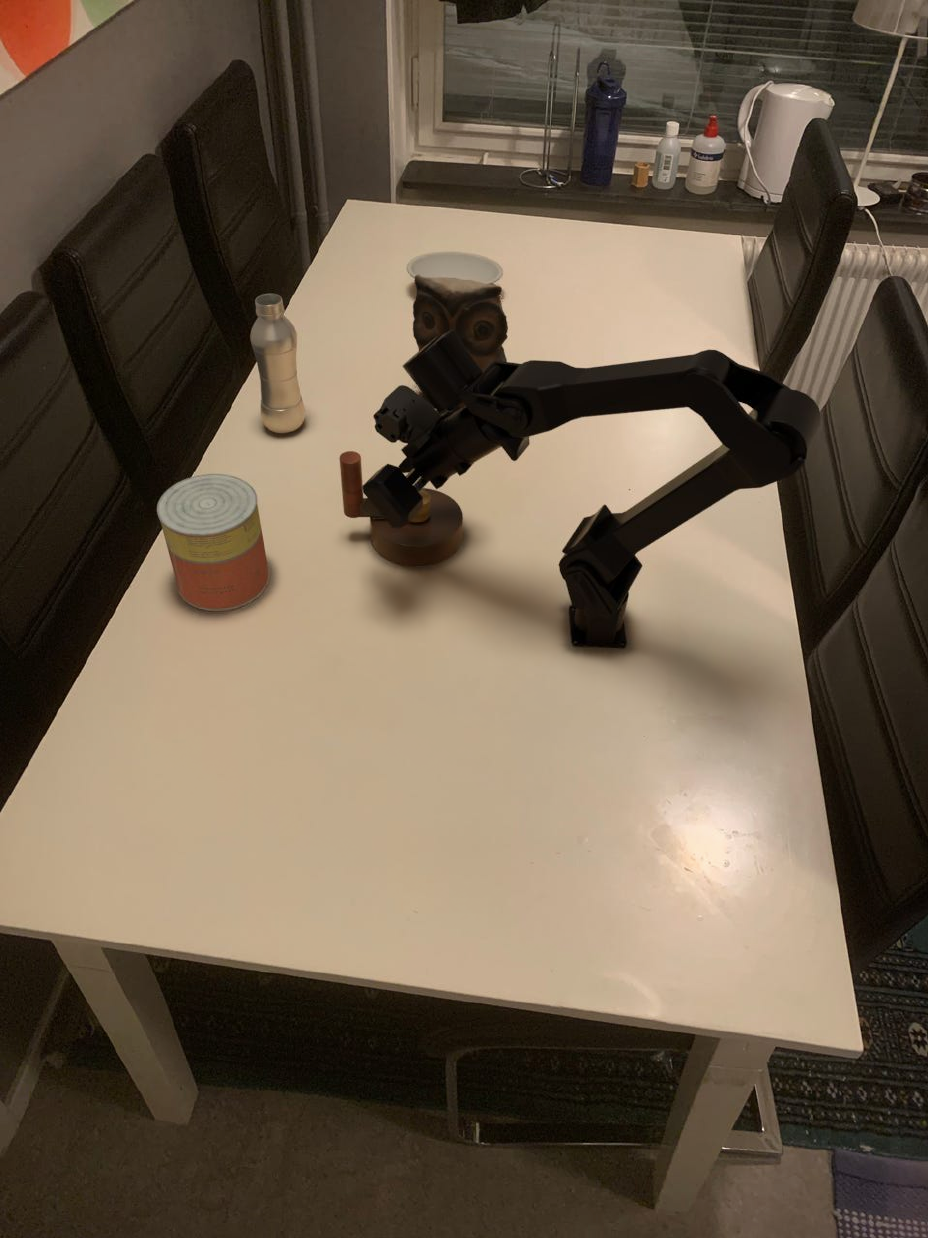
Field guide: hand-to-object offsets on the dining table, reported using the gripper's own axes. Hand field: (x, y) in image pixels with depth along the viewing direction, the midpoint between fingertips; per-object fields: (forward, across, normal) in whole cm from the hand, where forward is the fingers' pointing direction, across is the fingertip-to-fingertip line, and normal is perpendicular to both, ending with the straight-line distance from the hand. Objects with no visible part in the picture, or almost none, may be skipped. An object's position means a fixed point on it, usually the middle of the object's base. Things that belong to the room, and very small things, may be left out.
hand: (382, 489), depth 111 cm
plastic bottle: (+27, -17, -12) cm, 34 cm away
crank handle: (+5, -3, +4) cm, 7 cm away
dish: (+25, -68, -11) cm, 73 cm away
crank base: (+6, -4, +9) cm, 11 cm away
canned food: (+18, +14, -3) cm, 23 cm away
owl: (+13, -39, +2) cm, 41 cm away
